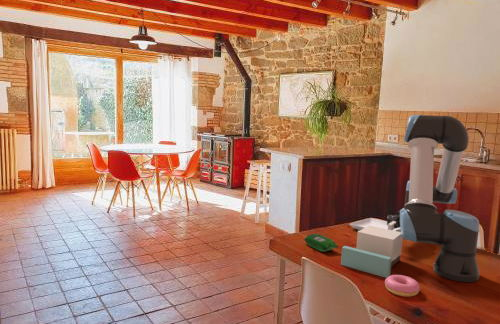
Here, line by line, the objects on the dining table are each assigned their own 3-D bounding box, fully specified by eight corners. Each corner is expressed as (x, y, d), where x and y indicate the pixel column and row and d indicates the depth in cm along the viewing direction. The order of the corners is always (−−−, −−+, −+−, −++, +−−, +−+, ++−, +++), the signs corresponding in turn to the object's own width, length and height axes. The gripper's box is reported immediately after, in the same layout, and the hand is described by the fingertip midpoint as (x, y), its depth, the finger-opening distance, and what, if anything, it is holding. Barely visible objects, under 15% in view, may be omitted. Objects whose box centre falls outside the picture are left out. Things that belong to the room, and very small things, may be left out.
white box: (400, 254, 157) (402, 232, 156) (391, 262, 148) (393, 239, 147) (367, 245, 166) (368, 225, 164) (355, 253, 156) (357, 231, 155)
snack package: (325, 255, 160) (326, 243, 159) (302, 243, 173) (303, 232, 172) (338, 253, 163) (339, 241, 163) (314, 242, 177) (315, 230, 176)
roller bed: (400, 260, 157) (400, 254, 157) (385, 273, 144) (386, 267, 143) (366, 251, 166) (366, 246, 165) (349, 263, 152) (350, 257, 152)
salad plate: (369, 222, 212) (370, 216, 212) (407, 232, 197) (408, 226, 196) (347, 229, 198) (348, 223, 198) (386, 240, 183) (387, 233, 182)
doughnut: (407, 301, 122) (408, 289, 122) (377, 288, 131) (378, 276, 131) (425, 293, 129) (427, 281, 128) (396, 281, 138) (397, 269, 137)
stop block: (389, 276, 141) (391, 257, 140) (387, 278, 139) (389, 259, 138) (343, 262, 152) (344, 245, 151) (340, 264, 150) (342, 247, 149)
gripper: (420, 226, 180) (404, 239, 162) (391, 221, 188) (373, 232, 170) (421, 211, 179) (406, 222, 161) (393, 206, 187) (375, 216, 168)
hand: (389, 227), depth 165 cm, fingers closed
